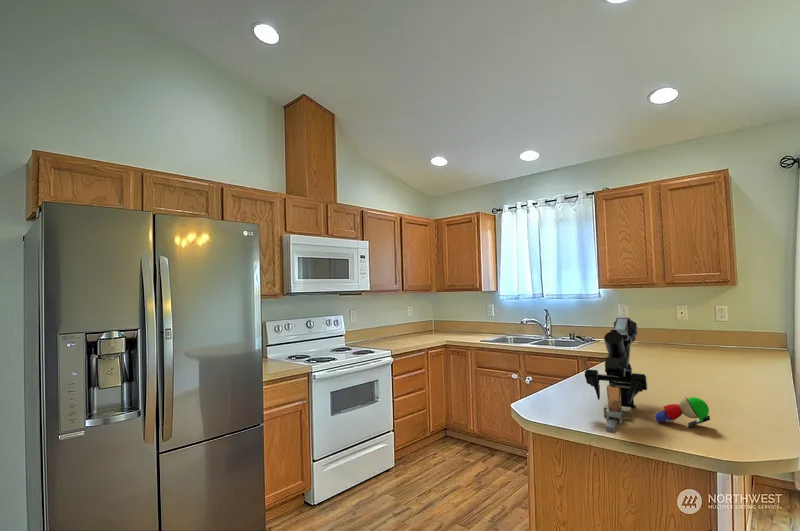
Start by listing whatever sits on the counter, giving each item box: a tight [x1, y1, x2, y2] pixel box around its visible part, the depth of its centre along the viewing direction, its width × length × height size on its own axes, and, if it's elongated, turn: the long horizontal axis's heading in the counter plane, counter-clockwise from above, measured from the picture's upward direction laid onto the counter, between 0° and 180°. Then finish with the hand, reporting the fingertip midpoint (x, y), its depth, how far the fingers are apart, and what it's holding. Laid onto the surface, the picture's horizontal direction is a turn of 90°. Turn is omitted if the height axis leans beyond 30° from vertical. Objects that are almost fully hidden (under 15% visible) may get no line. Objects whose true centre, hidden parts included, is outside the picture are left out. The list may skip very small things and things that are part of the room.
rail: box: [605, 417, 620, 433], centre depth 136 cm, size 15×2×2 cm, turn 146°
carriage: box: [605, 384, 624, 424], centre depth 140 cm, size 5×4×11 cm
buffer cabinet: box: [603, 403, 633, 421], centre depth 145 cm, size 5×8×3 cm, turn 56°
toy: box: [654, 396, 711, 429], centre depth 135 cm, size 8×8×15 cm
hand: (613, 400), depth 139 cm, fingers open, 9 cm apart
